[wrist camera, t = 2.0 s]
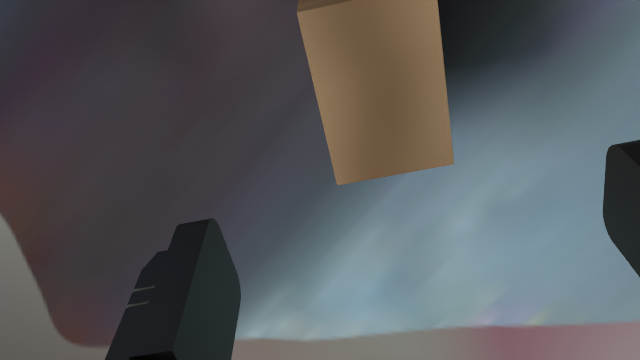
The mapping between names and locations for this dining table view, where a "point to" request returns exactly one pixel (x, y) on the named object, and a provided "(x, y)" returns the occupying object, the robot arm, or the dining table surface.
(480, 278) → the dining table surface
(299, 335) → the dining table surface
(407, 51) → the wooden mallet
